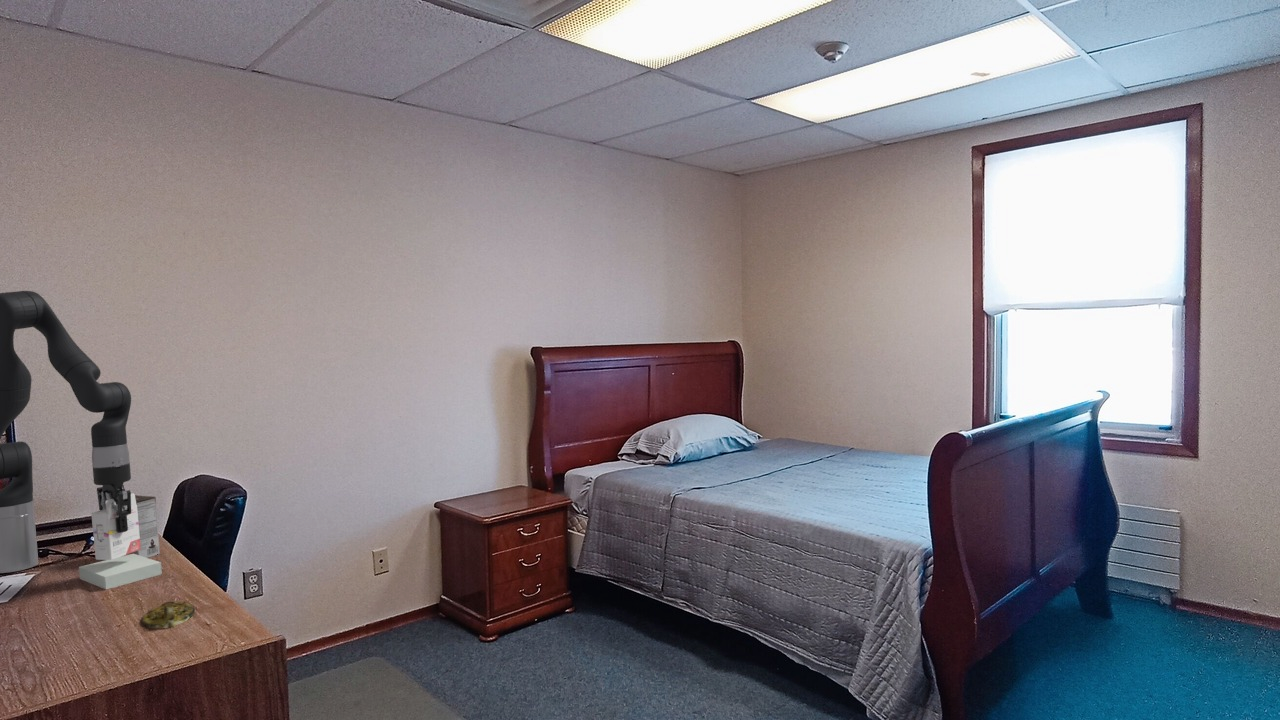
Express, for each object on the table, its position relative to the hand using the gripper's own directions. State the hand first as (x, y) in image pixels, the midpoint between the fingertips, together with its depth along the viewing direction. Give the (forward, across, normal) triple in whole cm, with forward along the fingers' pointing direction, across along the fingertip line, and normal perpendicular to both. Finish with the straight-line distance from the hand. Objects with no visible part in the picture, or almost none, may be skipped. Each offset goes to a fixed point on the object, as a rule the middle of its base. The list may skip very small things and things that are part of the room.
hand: (116, 530), depth 184 cm
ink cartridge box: (+6, 0, 0) cm, 6 cm away
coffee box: (+12, -16, +10) cm, 22 cm away
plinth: (+12, 0, 0) cm, 12 cm away
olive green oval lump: (+12, +42, -6) cm, 44 cm away
